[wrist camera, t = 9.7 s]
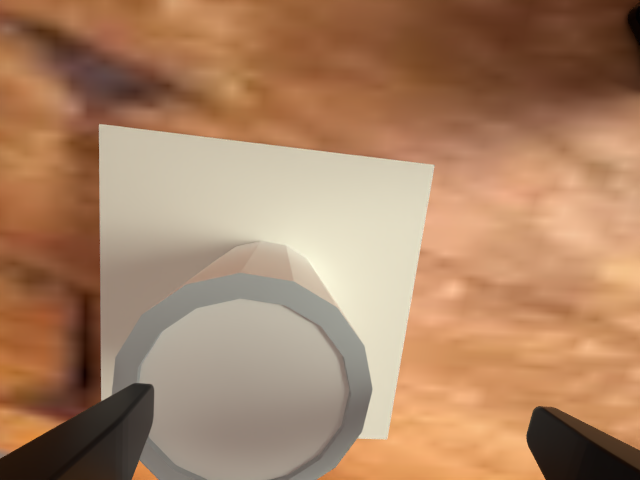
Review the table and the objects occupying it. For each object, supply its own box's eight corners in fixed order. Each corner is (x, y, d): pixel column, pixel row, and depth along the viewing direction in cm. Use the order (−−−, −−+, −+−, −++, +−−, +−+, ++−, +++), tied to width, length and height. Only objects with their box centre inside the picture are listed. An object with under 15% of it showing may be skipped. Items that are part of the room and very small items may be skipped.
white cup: (165, 342, 16) (74, 472, 9) (215, 203, 15) (155, 232, 8) (304, 386, 17) (316, 532, 10) (360, 259, 16) (415, 327, 9)
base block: (131, 131, 17) (98, 123, 14) (411, 165, 18) (434, 164, 15) (129, 390, 20) (101, 430, 17) (373, 401, 21) (387, 439, 18)
